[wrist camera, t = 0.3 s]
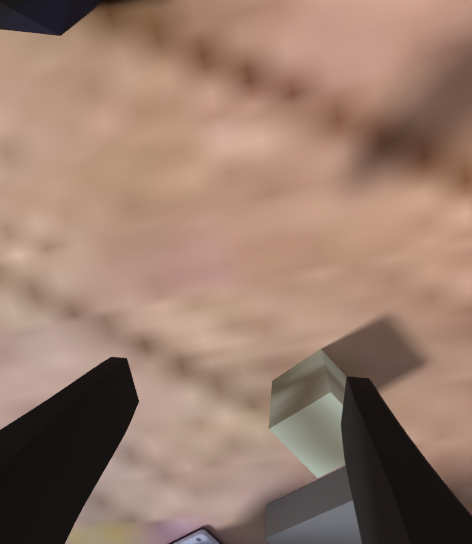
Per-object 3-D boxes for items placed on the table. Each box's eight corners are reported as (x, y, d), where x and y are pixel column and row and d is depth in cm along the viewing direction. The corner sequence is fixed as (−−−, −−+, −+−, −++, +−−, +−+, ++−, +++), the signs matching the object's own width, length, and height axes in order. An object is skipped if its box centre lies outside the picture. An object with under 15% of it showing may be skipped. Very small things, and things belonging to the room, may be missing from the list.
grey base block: (339, 569, 26) (345, 615, 24) (266, 499, 25) (264, 538, 23) (440, 532, 23) (462, 580, 21) (363, 451, 22) (374, 490, 19)
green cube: (311, 421, 22) (317, 478, 18) (272, 380, 21) (268, 429, 17) (361, 392, 20) (381, 446, 16) (320, 348, 20) (330, 392, 16)
